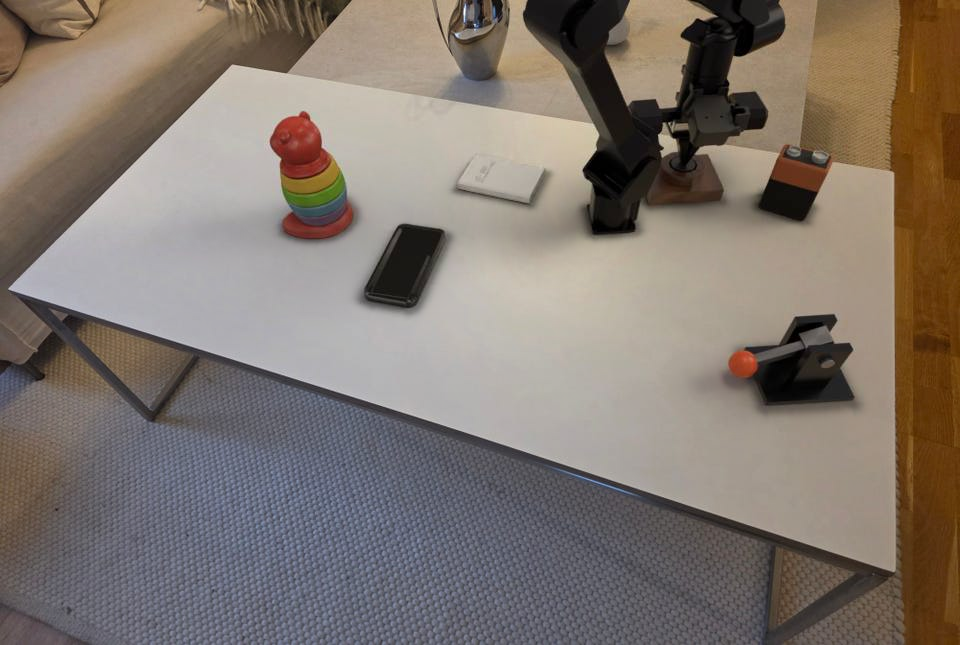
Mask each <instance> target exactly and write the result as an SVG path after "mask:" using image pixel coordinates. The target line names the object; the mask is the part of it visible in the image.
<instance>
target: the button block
mask: <svg viewBox="0 0 960 645" xmlns="http://www.w3.org/2000/svg"><path fill="white" fill-rule="evenodd" d="M676 157H679V154H678V151H671V152H670V153H668V154H666V155H664V156H662V160H661V163H660V168H659V171H658V173H657V175H656V177H655V179H654V182H653V184H652V186H651V188H650V190H649V192H648V194H647V196H646V199H647V202H648V206H663V205H664V206H665V205H677V204H690V203H691V204H692V203H693V204H694V203H705V202H719V201H721V200H722V198H723V195H724V192H725V188H724V186H723V184H722V182H721V180H720V177H719V175H718V173H717V171H716V169H715V167H714V165H713V162H712V160H711V158H710V155H709V153H702V154H695V155H694V156H693V157H692V158H691V159H692V160H693V161H694V162H695V168H694V171H692V172H687V173H681V172H677V171H675V170H673V169H672V168H670V165H671V161H672V160H673V159H674V158H676Z"/></svg>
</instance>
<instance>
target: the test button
mask: <svg viewBox="0 0 960 645" xmlns="http://www.w3.org/2000/svg"><path fill="white" fill-rule="evenodd" d="M670 168H672V169H673V170H675V171H677V172H681V173H687V172H692V171H694V168H695V162H694V161H693V160H692V159H691V160H690V161H689V162H688V164H687V165H681V163H680V160H679V157H676V158H674V159H673V160H672V161H671V165H670Z"/></svg>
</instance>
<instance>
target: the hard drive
mask: <svg viewBox="0 0 960 645" xmlns="http://www.w3.org/2000/svg"><path fill="white" fill-rule="evenodd" d="M545 175H546V166H540V165H536V164H531V163H530V164H529V163H524V162H519V161H513V160H508V159H502V158H497V157H492V156H487V155H481V154H474V156H473V158H472V159H471V161H470V162H469V164H468V166H467V167H466V169H465V170H464V172H463V173H462V174H461V176H460V178H459V179H458V181H457V189H458V190H462V191H467V192H471V193H477V194H481V195H486V196H490V197H495V198H500V199H505V200H510V201H515V202H520V203H524V204H529V205H530V204H531V202H532V201H533V199H534V197H535V195H536V193H537V191H538V189H539V187H540V185H541V183H542V182H543V179H544V177H545Z"/></svg>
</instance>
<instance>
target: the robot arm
mask: <svg viewBox="0 0 960 645" xmlns="http://www.w3.org/2000/svg"><path fill="white" fill-rule="evenodd" d="M780 1H781V0H686V2H688V3H690V4H691V5H693V7H696V8H698V9H700V10H702V11H704V12H707V13H709V14H711V15H713V16H711V17H708V18H706V19H705V18H704V19H701V18H699V17H696V18H695V19H694V21H693V22H692V23H690V24H689V25H688V26H686V27H685V28H684V29H683V30H682V31H681V33H680V38H681V39H683V40H684V41H685V42H688V43H689V47H688V52H687V56H686V61H685V64H681V70H680V73H681V74H682V78H681V83H680V88H679V91H676V93H675V97H674V99H675V102H676V104H675V105H676V106H669V107H660V106H659V104H658V101H657V99H656V98H650V99H649V98H648V99H635V100H632V101H630V103H629V104H628V103H626V99H625V97H624V95H623V92H622V90H621V88H620V86H619V83H618V81H617V79H616V76H615V74H614V72H613V68H612V67H611V64H610V62H609V59H608V57H607V55H606V48H607V45H608V43H609V39H610V31H611V30H612V29H614V28H615V27H616V26H617V25H619V23H621V21H622V20H623V18H624V16H625V13H626V11H627V8H628V6H629V4H630V2H631V0H526V2H525V8H524V10H523V11H522V20H523V23H524V26H525V28H526V30H527V31H528V32H529V33H530V34H531V35H532V36H533V37H534V38H535V40H536V41H537V42H538V43H539V44H540V45H541V46H542V47H543V48H544V49H545V50H546V51H547V52H548V53H550V54H551V55H552V56H553V57H554V58H555V59H556V60H557V61H558V62H559V63H560V64H561V65H562V67H563V68H564V70H565V72H566V74H567V76H568V78H569V80H570V82H571V83H572V85H573V87H574V89H575V91H576V93H577V94H578V97H579V99H580V101H581V102H582V104H583V105H582V106H584V108H585V110H586V113H587V114H588V116H589V118H590V120H591V122H592V124H593V126H594V127H595V129H596V131H597V133H598V137H597V140H596V142H595V148H596V150H595V151H594V153H593V154H592V155H591V157H590V158H589V159H588V161H587V162H586V163H585V165H584V166H583V167H582V169H581V170H582V175H583V178H584V179H585V180H586V181H588V182H589V183H591V190H590V198H589V203H588V204H587V205H586V212H587V217H588V220H589V221H588V222H589V225H590V226H589V227H590V230H591V233H592V234H593V235H608V234H622V233H623V234H624V233H635V232H636V229H637V226H636V223H635V221H637V220H638V217H639V211H640V207H641V201H642V199H644V198H645V197H646V198H647V194H648V192H649V190H650V188H651V186H652V184H653V182H654V179H655V177H656V175H657V173H658V171H659V168H660V163H661V160H662V157H663V155H662V152H661V151H663V150H664V149H665V147H664V146H663V145H661V144H660V138H659V135H660V134H661V133H662V132H663V129H664V128H663V127H664V124H665V127H666V129H667V131H668V134H669V136H670V138H671V139H673V140H675V142H676V148H677V152H678V154H679V160H680V163H681V165H687V164H688V162H689V161H690V160H691V158H692V157H693V156H694V155H696V153H697V152H698V151H699V150H700V148H704V147H711V146H717V147H721V146H724V145H725V144H726V143H727V141H728V140H729V138H730V137H731V138H733V137H740V136H741V133H743V132H745V131H754V130H755V131H756V130H763V129H764V128H765V127H766V124H767V121H768V118H769V110H768V108H767V106H766V104H765V103H764V101H763V100H762V98H761V96H760V95H759V93H758V92H757V91H754V90H753V91H742V92H731V93H730V94H729V91H730V86H731V84H730V81H729V80H728V77H729V73H730V70H731V66H732V64H733V59H734V57H737V58H740V57H741V58H742V57H745V56H748V55H749V54H752V53H753V52H756V51H759V50H760V49H763V48H765V47H767V46H769V45H772V44H774V43H777V41H778V40H780V39H781V37H782V36H783V34H784V32H785V31H786V27H787V25H786V15H785V12H784V9H783V7H782V5H780Z"/></svg>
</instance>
